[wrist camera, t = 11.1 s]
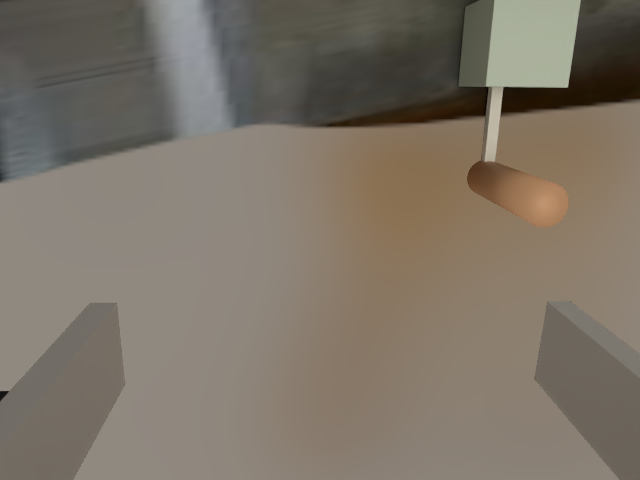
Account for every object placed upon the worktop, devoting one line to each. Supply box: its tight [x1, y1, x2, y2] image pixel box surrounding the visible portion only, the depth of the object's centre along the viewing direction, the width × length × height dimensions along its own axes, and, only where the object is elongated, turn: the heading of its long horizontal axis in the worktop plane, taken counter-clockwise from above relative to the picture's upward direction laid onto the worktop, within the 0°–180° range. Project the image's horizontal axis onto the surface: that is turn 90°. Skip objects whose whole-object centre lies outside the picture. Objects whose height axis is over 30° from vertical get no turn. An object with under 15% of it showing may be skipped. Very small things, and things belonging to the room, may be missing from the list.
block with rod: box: [458, 0, 581, 228], centre depth 37 cm, size 6×15×11 cm, turn 179°
